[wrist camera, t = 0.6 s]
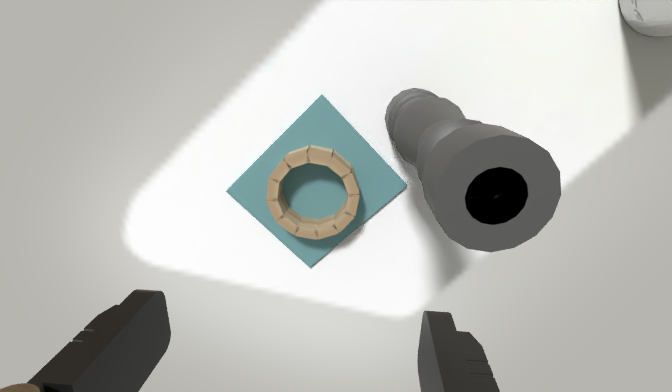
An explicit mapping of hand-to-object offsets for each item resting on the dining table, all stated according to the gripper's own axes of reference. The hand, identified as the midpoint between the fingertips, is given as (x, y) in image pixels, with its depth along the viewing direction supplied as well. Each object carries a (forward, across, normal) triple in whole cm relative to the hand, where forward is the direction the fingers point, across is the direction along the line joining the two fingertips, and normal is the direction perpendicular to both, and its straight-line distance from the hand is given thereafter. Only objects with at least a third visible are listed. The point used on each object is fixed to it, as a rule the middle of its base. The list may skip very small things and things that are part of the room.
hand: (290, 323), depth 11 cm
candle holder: (+32, -7, -2) cm, 33 cm away
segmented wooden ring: (+31, +3, +7) cm, 32 cm away
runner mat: (+32, +3, +7) cm, 33 cm away
